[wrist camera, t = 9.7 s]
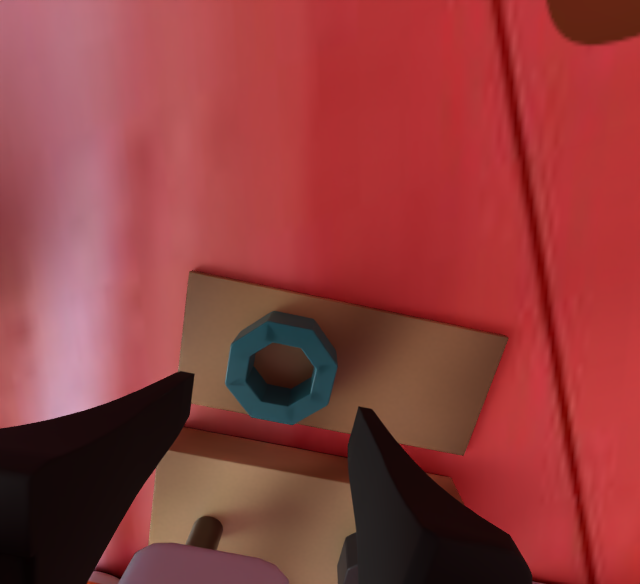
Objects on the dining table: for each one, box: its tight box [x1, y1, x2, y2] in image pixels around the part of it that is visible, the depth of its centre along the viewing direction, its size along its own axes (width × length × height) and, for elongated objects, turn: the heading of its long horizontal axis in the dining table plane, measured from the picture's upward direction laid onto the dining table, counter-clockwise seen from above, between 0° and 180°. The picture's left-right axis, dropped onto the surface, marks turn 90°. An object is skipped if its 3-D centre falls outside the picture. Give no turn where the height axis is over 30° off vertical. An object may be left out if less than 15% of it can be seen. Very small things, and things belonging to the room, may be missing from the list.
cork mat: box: [178, 270, 508, 456], centre depth 18 cm, size 18×8×1 cm, turn 78°
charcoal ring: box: [337, 532, 358, 584], centre depth 18 cm, size 6×6×2 cm
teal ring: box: [225, 311, 338, 425], centre depth 17 cm, size 6×6×2 cm
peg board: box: [148, 427, 464, 584], centre depth 18 cm, size 18×10×6 cm, turn 78°
